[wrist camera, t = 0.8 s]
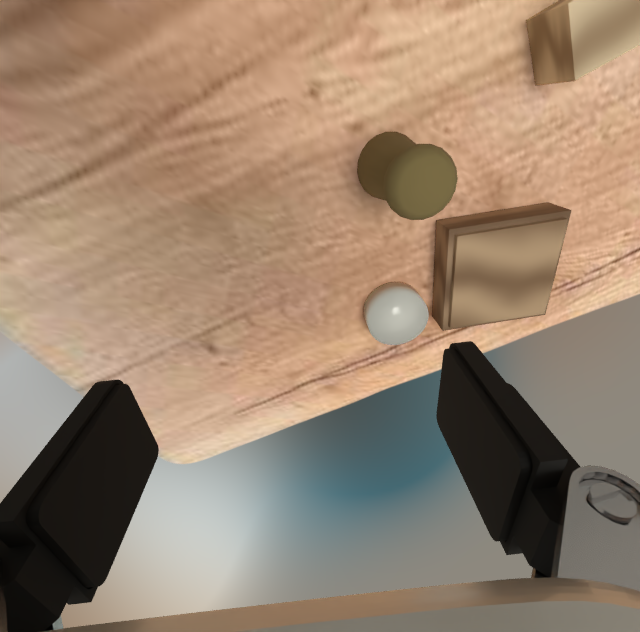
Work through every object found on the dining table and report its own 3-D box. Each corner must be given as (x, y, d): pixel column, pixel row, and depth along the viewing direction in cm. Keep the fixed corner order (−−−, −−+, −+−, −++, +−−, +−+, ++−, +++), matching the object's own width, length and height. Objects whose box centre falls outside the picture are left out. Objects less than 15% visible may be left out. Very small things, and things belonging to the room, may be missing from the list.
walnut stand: (436, 220, 36) (451, 231, 32) (548, 202, 36) (575, 211, 32) (432, 315, 42) (444, 333, 38) (527, 300, 42) (548, 317, 38)
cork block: (525, 20, 28) (568, 3, 23) (587, -17, 27) (644, -42, 22) (534, 85, 30) (575, 80, 26) (592, 53, 29) (643, 43, 25)
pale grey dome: (361, 286, 39) (366, 298, 37) (420, 276, 39) (429, 288, 37) (365, 335, 43) (369, 349, 40) (419, 326, 43) (427, 340, 40)
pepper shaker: (431, 166, 33) (487, 186, 23) (383, 211, 35) (418, 247, 25) (392, 115, 30) (438, 115, 21) (344, 167, 32) (366, 188, 23)
